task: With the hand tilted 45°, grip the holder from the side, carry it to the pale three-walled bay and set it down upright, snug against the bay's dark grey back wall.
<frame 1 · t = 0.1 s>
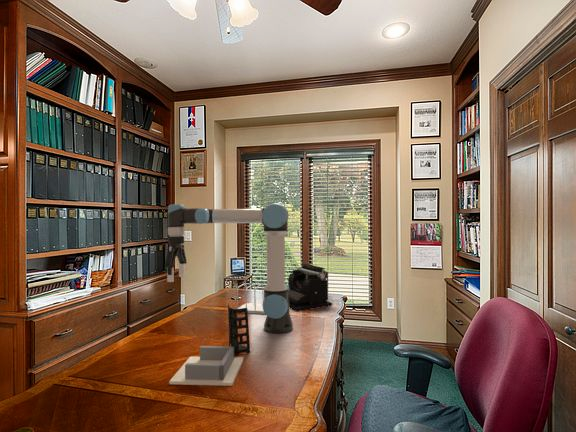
hand: (176, 279, 155), 28 cm above the table, tool pointing down, fingers open, 13 cm apart
holder: (237, 352, 136), on the table
file sorter: (259, 310, 200), on the table
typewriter: (302, 303, 217), on the table
bay: (209, 371, 119), on the table
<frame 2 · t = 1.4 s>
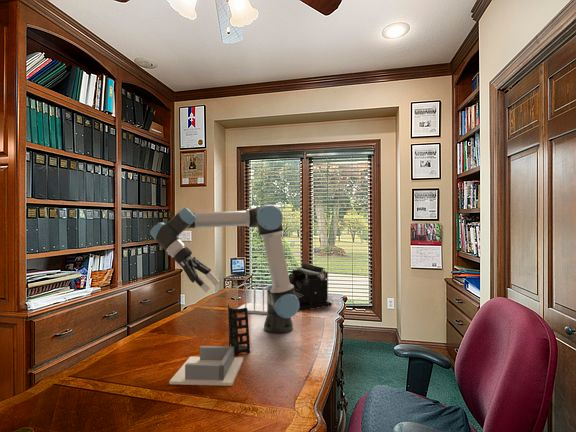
hand: (213, 287, 137), 28 cm above the table, tool tilted 45°, fingers open, 13 cm apart
nothing on the table moved.
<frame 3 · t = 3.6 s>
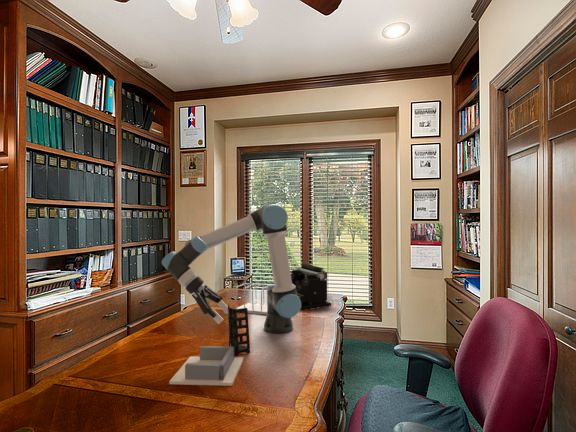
hand: (225, 317, 136), 15 cm above the table, tool tilted 45°, fingers open, 13 cm apart
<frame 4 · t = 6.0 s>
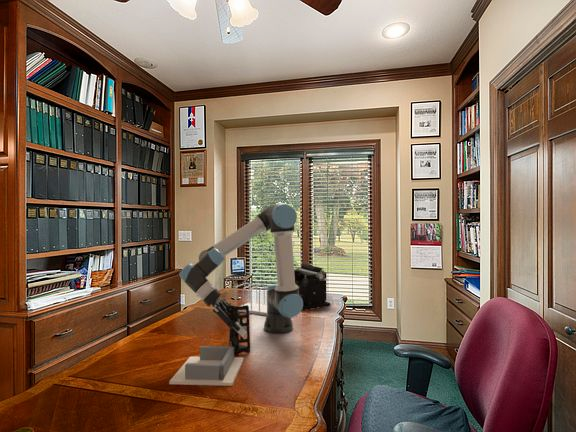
hand: (246, 332, 136), 8 cm above the table, tool tilted 45°, fingers closed on holder, 5 cm apart
holder: (238, 351, 136), on the table, touching gripper
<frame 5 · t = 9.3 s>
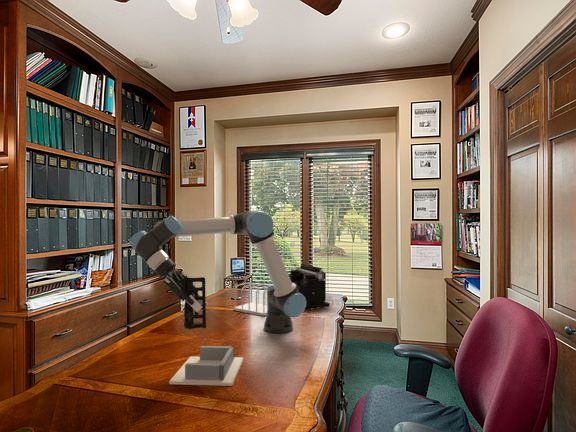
hand: (202, 307, 123), 23 cm above the table, tool tilted 45°, fingers closed on holder, 5 cm apart
holder: (192, 328, 123), point 15 cm above the table, touching gripper
when the fingers open (11 cm above the table, at t = 12.7 s): holder drops 2 cm, resting on bay.
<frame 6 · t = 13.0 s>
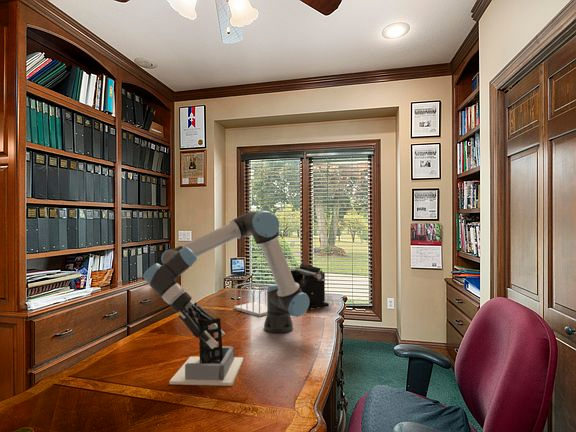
hand: (218, 341, 119), 11 cm above the table, tool tilted 45°, fingers open, 9 cm apart
holder: (209, 368, 119), point 1 cm above the table, touching bay
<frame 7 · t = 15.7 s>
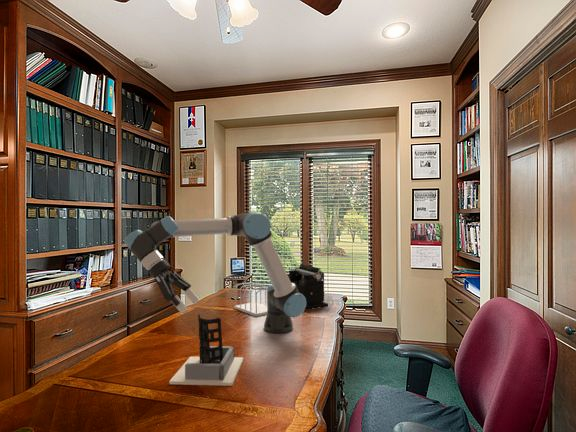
hand: (191, 306, 122), 23 cm above the table, tool tilted 40°, fingers open, 13 cm apart
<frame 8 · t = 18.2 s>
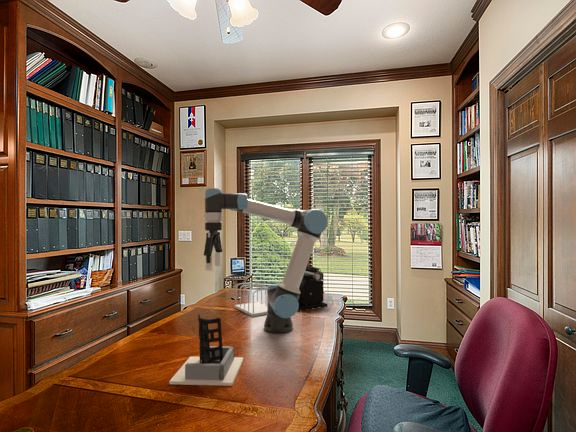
hand: (213, 268, 146), 35 cm above the table, tool pointing down, fingers open, 13 cm apart
at the end: holder 0.2 cm off-centre on the bay, point 0.8 cm above the bay's base; holder tilted 0°; the gripper is holding nothing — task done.
